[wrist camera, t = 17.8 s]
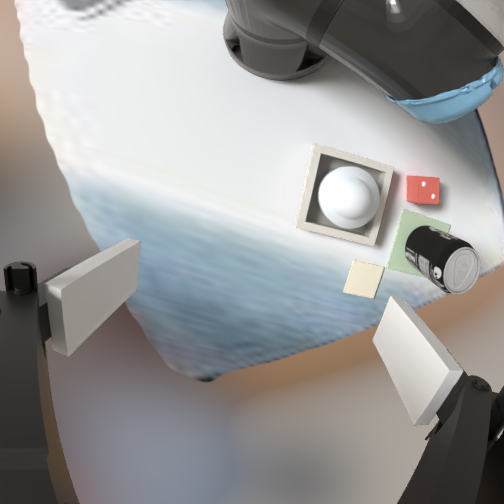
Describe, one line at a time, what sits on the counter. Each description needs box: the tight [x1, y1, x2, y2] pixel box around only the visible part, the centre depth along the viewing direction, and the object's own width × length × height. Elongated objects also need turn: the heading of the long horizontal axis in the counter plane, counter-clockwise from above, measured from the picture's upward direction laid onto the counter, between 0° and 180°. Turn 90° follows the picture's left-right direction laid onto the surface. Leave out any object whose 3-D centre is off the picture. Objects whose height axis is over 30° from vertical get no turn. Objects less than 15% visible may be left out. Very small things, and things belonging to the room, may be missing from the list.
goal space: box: [386, 209, 450, 278], centre depth 39 cm, size 9×9×1 cm
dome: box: [318, 166, 380, 229], centre depth 34 cm, size 8×8×5 cm
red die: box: [407, 176, 439, 204], centre depth 36 cm, size 4×4×4 cm
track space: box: [343, 260, 384, 298], centre depth 41 cm, size 5×5×1 cm
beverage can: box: [405, 225, 480, 294], centre depth 33 cm, size 7×7×12 cm
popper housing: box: [294, 144, 394, 246], centre depth 37 cm, size 11×11×2 cm
